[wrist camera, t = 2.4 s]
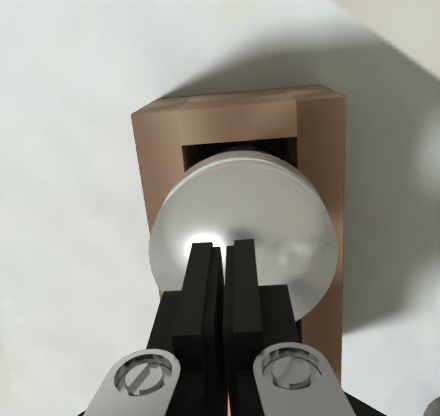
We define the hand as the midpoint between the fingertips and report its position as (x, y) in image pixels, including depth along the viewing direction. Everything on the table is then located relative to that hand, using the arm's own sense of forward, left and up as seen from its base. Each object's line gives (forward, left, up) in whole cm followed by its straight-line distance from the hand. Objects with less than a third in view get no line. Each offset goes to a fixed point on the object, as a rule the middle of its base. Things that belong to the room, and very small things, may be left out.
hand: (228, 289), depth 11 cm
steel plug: (0, 0, -10) cm, 10 cm away
